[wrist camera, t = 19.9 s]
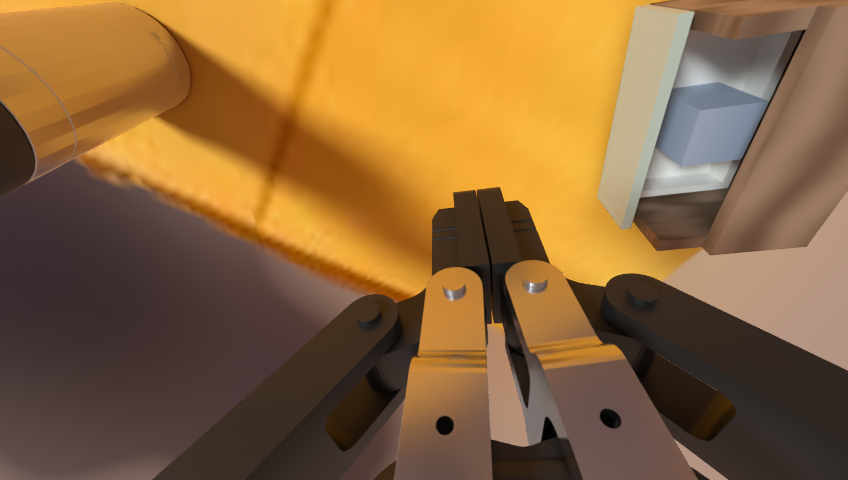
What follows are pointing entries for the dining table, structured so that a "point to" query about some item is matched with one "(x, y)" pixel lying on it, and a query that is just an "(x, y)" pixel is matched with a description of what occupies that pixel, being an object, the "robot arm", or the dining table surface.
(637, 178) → the tray
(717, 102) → the slate block
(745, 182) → the open wooden box
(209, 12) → the dining table surface
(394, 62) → the dining table surface
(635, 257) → the dining table surface
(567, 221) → the dining table surface
